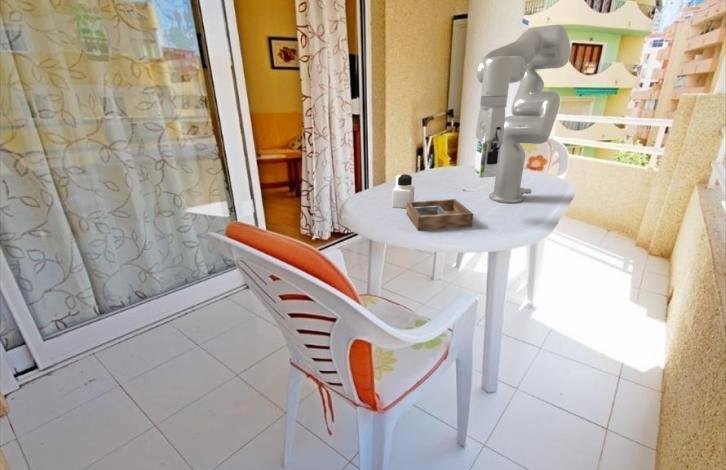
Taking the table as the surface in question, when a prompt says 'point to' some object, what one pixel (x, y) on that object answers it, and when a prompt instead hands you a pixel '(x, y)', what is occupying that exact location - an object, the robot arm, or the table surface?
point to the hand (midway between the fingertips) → (487, 161)
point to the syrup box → (485, 160)
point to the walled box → (439, 214)
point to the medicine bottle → (403, 191)
